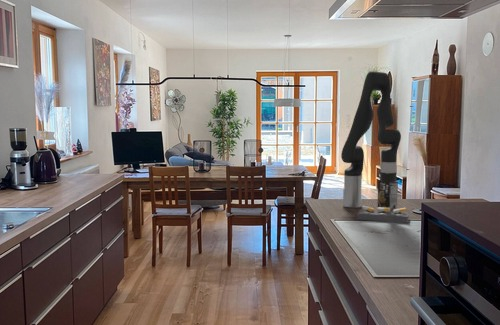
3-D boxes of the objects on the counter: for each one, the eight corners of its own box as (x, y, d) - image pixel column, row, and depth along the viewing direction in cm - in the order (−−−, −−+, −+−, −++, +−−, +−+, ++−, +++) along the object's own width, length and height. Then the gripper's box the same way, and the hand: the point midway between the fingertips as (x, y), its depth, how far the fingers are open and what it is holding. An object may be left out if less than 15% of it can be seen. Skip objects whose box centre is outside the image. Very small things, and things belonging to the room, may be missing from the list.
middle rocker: (377, 211, 230) (377, 208, 229) (378, 210, 233) (378, 207, 233) (389, 212, 228) (389, 209, 227) (389, 211, 231) (389, 207, 231)
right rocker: (394, 214, 227) (393, 211, 227) (394, 213, 230) (393, 209, 230) (405, 212, 225) (404, 208, 225) (406, 210, 228) (405, 207, 228)
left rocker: (361, 209, 232) (362, 206, 232) (362, 208, 236) (363, 204, 235) (372, 213, 230) (373, 209, 230) (373, 211, 234) (374, 208, 234)
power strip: (357, 219, 228) (357, 212, 228) (359, 215, 237) (360, 209, 236) (407, 223, 220) (407, 216, 220) (408, 219, 228) (408, 212, 228)
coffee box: (376, 209, 251) (377, 179, 249) (387, 209, 253) (388, 179, 251) (386, 213, 242) (387, 181, 241) (397, 212, 244) (398, 181, 243)
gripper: (381, 169, 235) (380, 204, 237) (378, 172, 223) (377, 209, 225) (397, 170, 232) (396, 205, 234) (395, 173, 220) (394, 210, 222)
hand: (387, 206), depth 229 cm, fingers closed
